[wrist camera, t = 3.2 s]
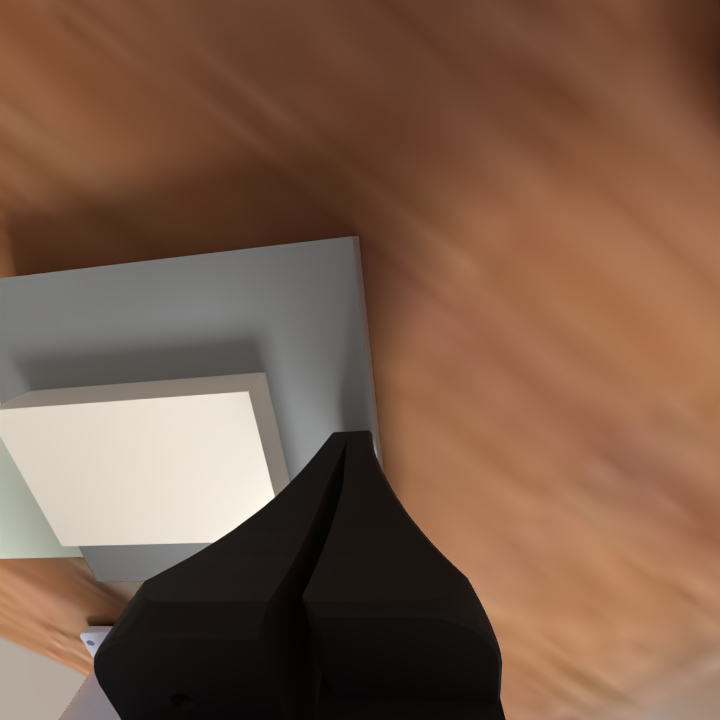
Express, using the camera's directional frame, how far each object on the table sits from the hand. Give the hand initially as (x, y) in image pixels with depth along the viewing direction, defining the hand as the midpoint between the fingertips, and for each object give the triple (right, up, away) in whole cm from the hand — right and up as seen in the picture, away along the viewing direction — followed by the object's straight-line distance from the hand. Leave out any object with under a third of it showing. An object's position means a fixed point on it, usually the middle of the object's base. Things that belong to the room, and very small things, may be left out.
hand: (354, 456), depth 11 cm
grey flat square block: (-6, +1, +4) cm, 7 cm away
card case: (-7, 0, +2) cm, 7 cm away
